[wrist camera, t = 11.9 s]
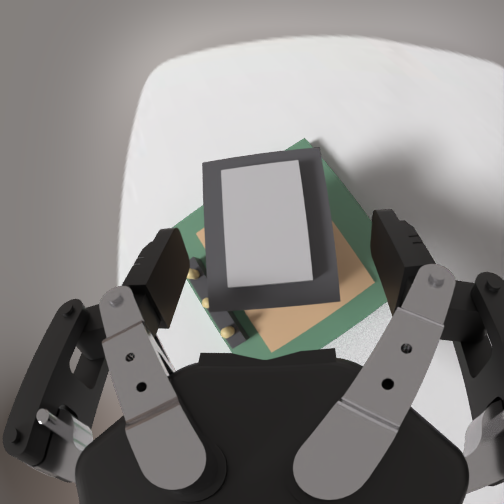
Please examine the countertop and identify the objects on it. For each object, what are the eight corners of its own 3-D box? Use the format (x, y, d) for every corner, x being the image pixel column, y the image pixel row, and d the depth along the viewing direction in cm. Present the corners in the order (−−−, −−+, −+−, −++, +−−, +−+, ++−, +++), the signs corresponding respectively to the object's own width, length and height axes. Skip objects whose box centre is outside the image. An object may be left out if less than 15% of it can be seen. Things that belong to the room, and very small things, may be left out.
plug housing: (311, 216, 18) (320, 138, 8) (320, 297, 17) (343, 301, 8) (248, 223, 18) (196, 155, 9) (254, 303, 18) (203, 313, 8)
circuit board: (304, 146, 20) (304, 121, 17) (405, 282, 18) (425, 279, 14) (169, 238, 21) (146, 228, 18) (258, 382, 18) (249, 399, 15)
